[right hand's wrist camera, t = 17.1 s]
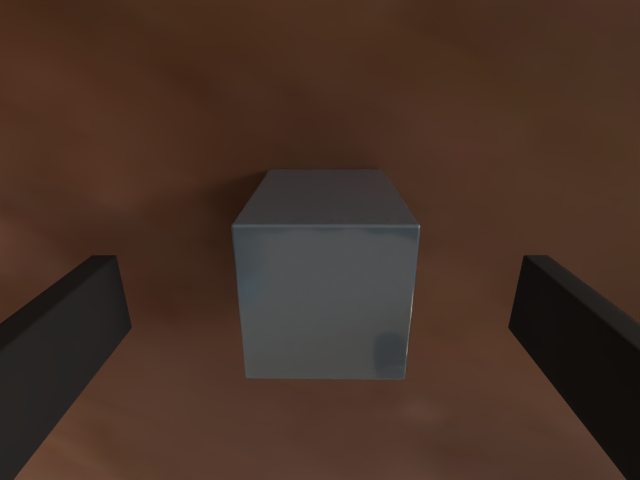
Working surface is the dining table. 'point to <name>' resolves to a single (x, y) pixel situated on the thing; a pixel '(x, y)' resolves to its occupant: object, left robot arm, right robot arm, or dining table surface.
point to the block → (325, 275)
